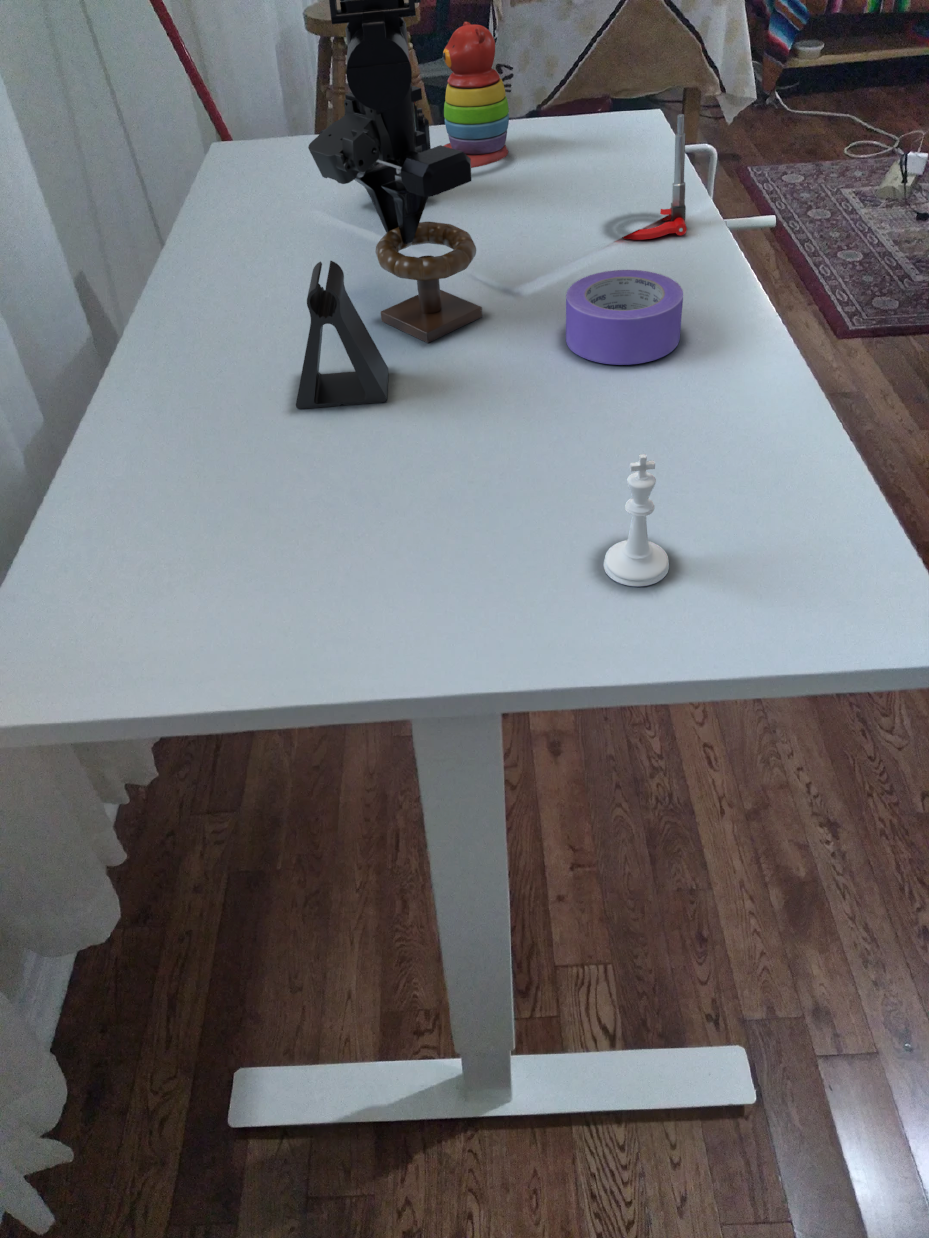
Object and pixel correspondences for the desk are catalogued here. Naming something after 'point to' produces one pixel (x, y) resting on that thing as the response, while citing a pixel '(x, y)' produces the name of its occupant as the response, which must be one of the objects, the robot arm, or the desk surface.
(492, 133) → the stacking bear
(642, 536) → the chess piece
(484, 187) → the desk surface
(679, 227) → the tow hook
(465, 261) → the ring
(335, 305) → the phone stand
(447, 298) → the post
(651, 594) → the desk surface
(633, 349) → the tape roll
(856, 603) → the desk surface
